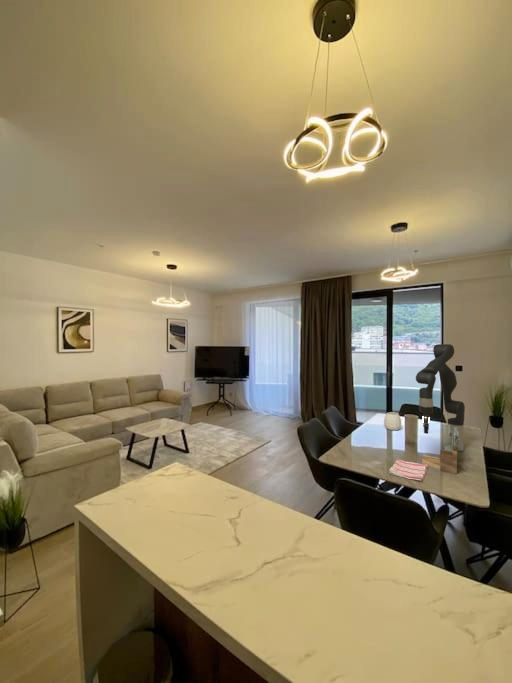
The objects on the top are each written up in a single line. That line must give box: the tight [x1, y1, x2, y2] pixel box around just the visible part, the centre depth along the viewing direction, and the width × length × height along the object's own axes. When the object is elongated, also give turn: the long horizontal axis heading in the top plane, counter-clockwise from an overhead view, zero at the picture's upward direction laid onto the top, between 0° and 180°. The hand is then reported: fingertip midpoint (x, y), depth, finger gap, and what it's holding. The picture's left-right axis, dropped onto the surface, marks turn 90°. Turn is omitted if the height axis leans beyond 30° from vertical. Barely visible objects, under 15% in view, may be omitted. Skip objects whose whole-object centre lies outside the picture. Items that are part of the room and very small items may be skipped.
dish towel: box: [388, 458, 429, 483], centre depth 172 cm, size 17×23×4 cm
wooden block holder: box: [439, 446, 458, 475], centre depth 173 cm, size 11×8×14 cm
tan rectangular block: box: [421, 454, 440, 470], centre depth 178 cm, size 4×12×6 cm, turn 52°
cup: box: [383, 411, 402, 431], centre depth 252 cm, size 13×13×14 cm
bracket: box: [443, 424, 459, 452], centre depth 187 cm, size 28×7×20 cm, turn 150°
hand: (426, 431), depth 182 cm, fingers open, 8 cm apart
